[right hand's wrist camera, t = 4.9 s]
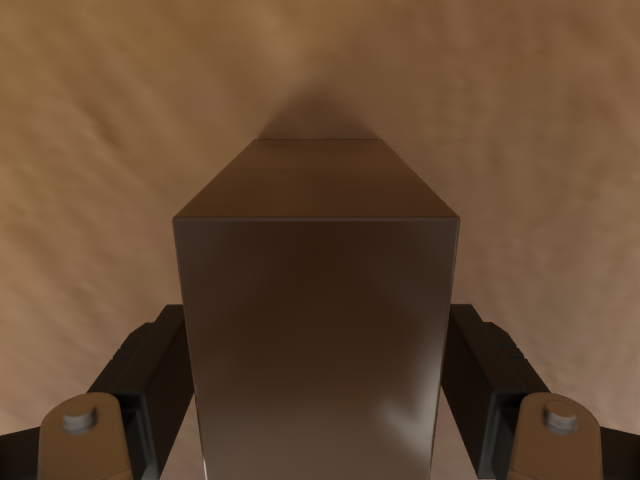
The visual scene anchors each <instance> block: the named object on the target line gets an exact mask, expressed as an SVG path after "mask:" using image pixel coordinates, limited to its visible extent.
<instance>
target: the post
mask: <svg viewBox="0 0 640 480" xmlns="http://www.w3.org/2000/svg"><path fill="white" fill-rule="evenodd" d="M172 223H173V231H174V238H175V246H176V254H177V262H178V270H179V277H180V285H181V293H182V301H183V308H184V316H185V324H186V332H187V339H188V347H189V355H190V363H191V370H192V378H193V386H194V394H195V402H196V409H197V417H198V425H199V433H200V440H201V448H202V456H203V464H204V471H205V479H206V480H430V471H431V463H432V455H433V446H434V438H435V429H436V421H437V412H438V404H439V396H440V387H441V379H442V370H443V362H444V353H445V345H446V337H447V328H448V320H449V311H450V303H451V294H452V286H453V278H454V269H455V261H456V252H457V244H458V235H459V227H460V218H459V216H458V215H457V214H456V213H455V212H454V211H453V210H452V209H451V208H450V207H449V206H448V205H447V204H446V203H445V202H444V201H443V200H442V199H441V198H440V197H439V196H438V195H437V194H436V193H435V192H434V191H433V190H432V189H431V188H430V187H429V186H428V185H427V184H426V183H425V182H424V181H423V180H422V179H421V178H420V177H419V176H418V175H417V174H416V173H415V172H414V171H413V170H412V169H411V168H410V167H409V166H408V165H407V164H406V163H405V162H404V161H403V160H402V159H401V158H400V157H399V156H398V155H397V154H396V153H395V152H394V151H393V150H392V149H391V148H390V147H389V146H388V145H387V144H386V143H385V142H384V141H383V140H382V139H255V140H253V141H252V142H251V143H250V144H249V145H248V146H247V147H246V148H245V149H244V150H243V151H242V152H241V153H240V154H239V155H238V156H237V157H236V158H235V159H234V160H233V161H231V162H230V163H229V164H228V165H227V166H226V167H225V168H224V169H223V170H222V171H221V172H220V173H219V174H218V175H217V176H216V177H215V178H214V179H213V180H212V181H211V182H210V183H209V184H208V185H207V186H205V187H204V188H203V189H202V190H201V191H200V192H199V193H198V194H197V195H196V196H195V197H194V198H193V199H192V200H191V201H190V202H189V203H188V204H187V205H186V206H185V207H184V208H183V209H182V210H181V211H180V212H178V213H177V214H176V215H175V216H174V217H173V220H172Z"/></svg>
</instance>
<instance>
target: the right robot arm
mask: <svg viewBox="0 0 640 480" xmlns="http://www.w3.org/2000/svg"><path fill="white" fill-rule="evenodd" d="M516 346H517V345H516V344H515V343H514V341H513V340H512V339H511V337H510V336H509V334H508V333H507V332H505V331H504V330H502V329H501V328H500V327H498V326H497V325H495V324H494V323H492V322H483V321H482V319H481V318H480V316H479V315H478V313H477V312H476V310H475V309H474V307H473V306H472V305H471V304H450V311H449V320H448V328H447V337H446V345H445V353H444V362H443V370H442V379H441V386H442V389H443V391H444V394H445V396H446V399H447V401H448V404H449V406H450V409H451V412H452V414H453V417H454V419H455V422H456V424H457V427H458V429H459V432H460V434H461V437H462V440H463V442H464V445H465V447H466V450H467V452H468V455H469V457H470V460H471V463H472V465H473V468H474V470H475V473H476V475H477V478H478V479H496V480H640V435H636V434H631V433H627V432H622V431H618V430H614V429H609V428H605V427H601V426H599V423H598V421H597V420H596V418H595V417H594V415H593V414H592V413H591V412H590V411H589V410H587V409H586V408H585V407H584V406H582V405H581V404H579V403H577V402H576V401H574V400H572V399H569V398H567V397H564V396H561V395H558V394H554V393H551V392H550V391H549V389H548V388H547V387H546V385H545V384H544V382H543V381H542V380H541V378H540V377H539V376H538V374H537V373H536V371H535V370H534V369H533V367H532V366H531V365H530V363H529V362H528V360H527V359H524V355H523V354H522V352H521V351H520V350H519V348H517V347H516ZM193 394H194V386H193V378H192V370H191V363H190V355H189V347H188V339H187V332H186V324H185V316H184V308H183V305H166V306H165V307H164V309H163V310H162V312H161V313H160V315H159V316H158V318H157V319H156V321H155V322H154V323H145V324H143V325H142V326H140V327H139V328H137V329H136V330H134V331H133V332H132V333H130V334H129V336H128V337H127V338H126V340H125V341H124V342H123V344H122V345H121V348H120V349H118V351H117V352H116V353H115V355H114V356H113V359H111V360H110V361H109V363H108V364H107V365H106V367H105V368H104V369H103V371H102V372H101V374H100V375H99V376H98V378H97V379H96V380H95V382H94V383H93V384H92V386H91V387H90V388H89V390H88V391H87V393H86V394H82V395H79V396H76V397H73V398H71V399H68V400H66V401H64V402H63V403H61V404H59V405H58V406H56V407H55V408H54V409H53V410H51V411H50V412H49V413H48V414H47V415H46V417H45V418H44V420H43V421H42V423H41V426H39V427H36V428H32V429H28V430H23V431H19V432H15V433H10V434H6V435H1V436H0V480H159V479H160V476H161V474H162V471H163V469H164V466H165V464H166V461H167V459H168V456H169V454H170V451H171V449H172V446H173V444H174V441H175V439H176V436H177V434H178V431H179V429H180V426H181V424H182V421H183V419H184V416H185V414H186V411H187V409H188V406H189V404H190V401H191V399H192V396H193Z"/></svg>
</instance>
